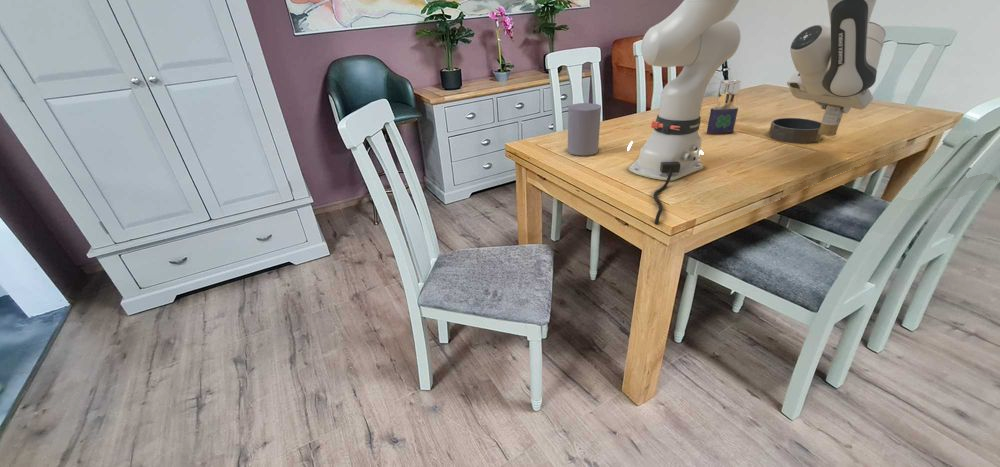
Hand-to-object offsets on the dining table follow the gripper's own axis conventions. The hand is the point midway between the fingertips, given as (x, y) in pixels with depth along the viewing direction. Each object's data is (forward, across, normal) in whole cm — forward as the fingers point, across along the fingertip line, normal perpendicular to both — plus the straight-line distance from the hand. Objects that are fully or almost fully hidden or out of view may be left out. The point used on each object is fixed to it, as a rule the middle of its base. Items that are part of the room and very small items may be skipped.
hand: (835, 109), depth 121 cm
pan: (+14, +15, +4) cm, 21 cm away
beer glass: (+11, +41, +7) cm, 43 cm away
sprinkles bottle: (+5, 0, +6) cm, 8 cm away
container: (-35, +37, +53) cm, 74 cm away
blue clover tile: (+2, +30, +16) cm, 34 cm away
